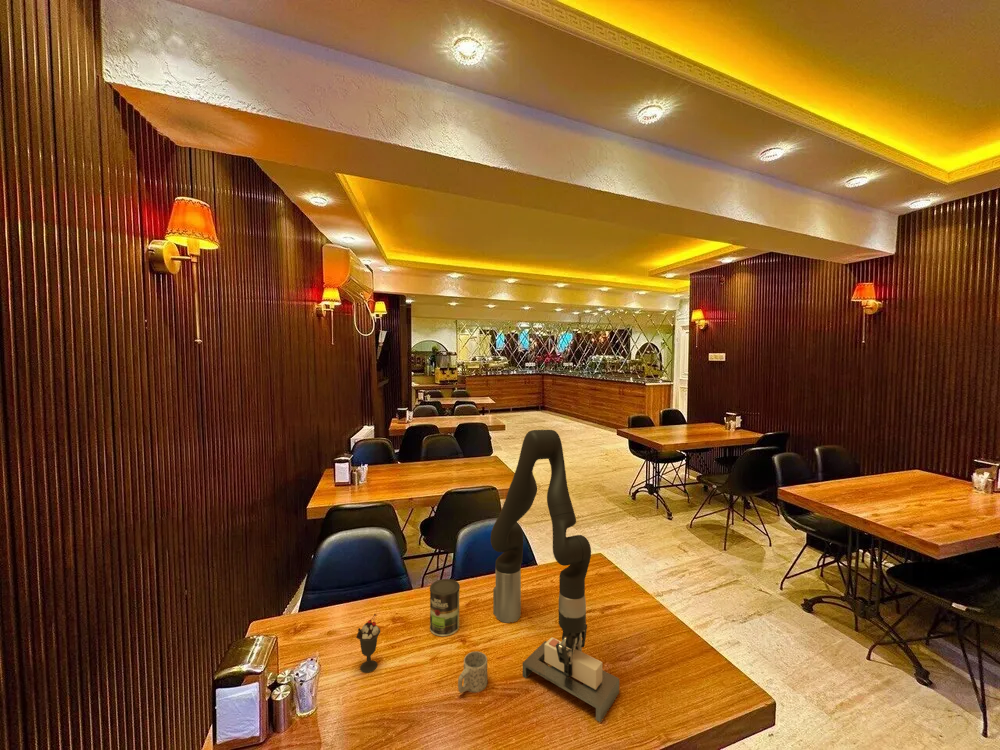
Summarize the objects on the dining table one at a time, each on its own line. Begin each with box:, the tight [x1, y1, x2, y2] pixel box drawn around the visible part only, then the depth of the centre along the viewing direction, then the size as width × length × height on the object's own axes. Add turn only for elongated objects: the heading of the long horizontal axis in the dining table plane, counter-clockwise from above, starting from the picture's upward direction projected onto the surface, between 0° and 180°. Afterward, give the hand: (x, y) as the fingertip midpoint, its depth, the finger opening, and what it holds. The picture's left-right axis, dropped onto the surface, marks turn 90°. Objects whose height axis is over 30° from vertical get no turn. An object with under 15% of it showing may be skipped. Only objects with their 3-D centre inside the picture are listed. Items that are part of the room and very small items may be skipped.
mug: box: [457, 650, 488, 694], centre depth 109 cm, size 10×7×7 cm
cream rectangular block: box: [544, 636, 603, 690], centre depth 109 cm, size 16×4×8 cm, turn 51°
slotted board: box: [522, 640, 620, 723], centre depth 110 cm, size 24×12×4 cm, turn 51°
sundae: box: [356, 613, 381, 674], centre depth 117 cm, size 7×7×15 cm
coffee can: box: [429, 578, 461, 638], centre depth 135 cm, size 10×10×14 cm
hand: (572, 669), depth 109 cm, fingers closed on cream rectangular block, 4 cm apart
